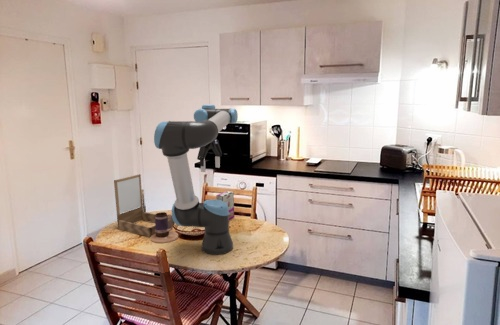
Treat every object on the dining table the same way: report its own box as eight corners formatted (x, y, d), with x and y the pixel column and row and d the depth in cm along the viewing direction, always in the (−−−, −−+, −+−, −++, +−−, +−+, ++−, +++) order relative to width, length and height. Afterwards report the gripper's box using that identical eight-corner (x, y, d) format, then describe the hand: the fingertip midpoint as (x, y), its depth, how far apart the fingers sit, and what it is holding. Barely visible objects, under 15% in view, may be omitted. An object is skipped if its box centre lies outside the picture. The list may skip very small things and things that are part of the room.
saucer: (183, 235, 187) (183, 233, 187) (164, 245, 175) (164, 243, 175) (164, 231, 194) (164, 229, 194) (145, 239, 182) (144, 237, 182)
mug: (152, 236, 184) (151, 214, 182) (161, 231, 190) (160, 210, 188) (168, 239, 179) (166, 217, 177) (176, 234, 185) (175, 213, 183)
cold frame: (174, 226, 201) (172, 194, 197) (150, 237, 186) (148, 202, 182) (142, 219, 214) (140, 189, 211) (117, 228, 199) (115, 196, 195)
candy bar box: (228, 216, 217) (227, 190, 214) (234, 217, 215) (234, 191, 212) (216, 221, 208) (215, 194, 205) (223, 223, 205) (222, 195, 203)
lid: (142, 206, 212) (140, 174, 208) (118, 215, 197) (115, 180, 193) (141, 206, 213) (139, 174, 209) (116, 215, 197) (113, 180, 194)
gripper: (217, 130, 210) (218, 165, 213) (189, 134, 189) (191, 172, 192) (227, 130, 206) (228, 166, 210) (200, 134, 185) (202, 174, 189)
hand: (210, 169), depth 201 cm, fingers open, 13 cm apart
